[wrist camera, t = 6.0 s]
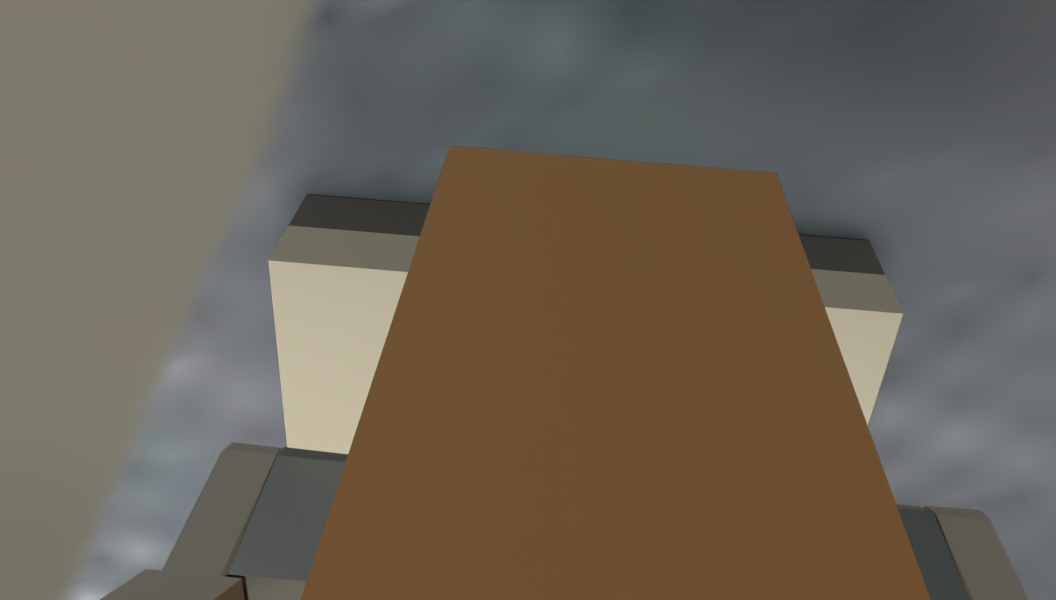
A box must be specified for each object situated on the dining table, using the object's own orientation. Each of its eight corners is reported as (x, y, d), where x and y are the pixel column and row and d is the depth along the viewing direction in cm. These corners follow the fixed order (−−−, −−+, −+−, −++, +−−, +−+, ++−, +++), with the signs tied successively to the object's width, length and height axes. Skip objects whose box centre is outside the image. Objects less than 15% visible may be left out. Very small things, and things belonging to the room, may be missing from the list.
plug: (775, 172, 12) (1147, 1194, 4) (721, 426, 14) (883, 1423, 6) (449, 145, 12) (139, 1089, 4) (444, 402, 14) (238, 1351, 6)
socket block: (868, 240, 29) (903, 313, 26) (767, 600, 38) (783, 690, 34) (307, 194, 30) (268, 260, 26) (333, 560, 38) (307, 645, 35)
